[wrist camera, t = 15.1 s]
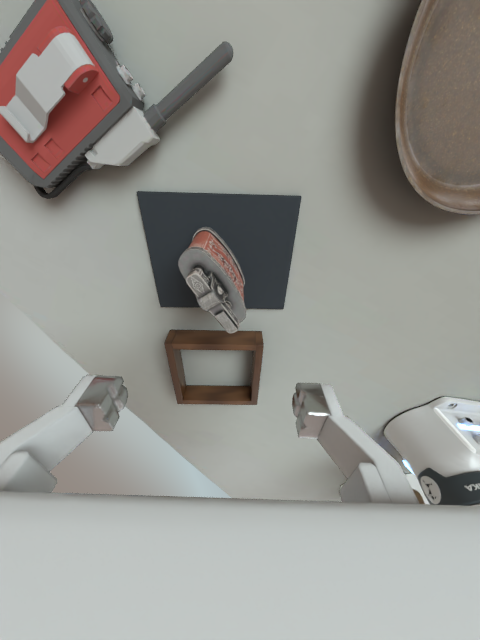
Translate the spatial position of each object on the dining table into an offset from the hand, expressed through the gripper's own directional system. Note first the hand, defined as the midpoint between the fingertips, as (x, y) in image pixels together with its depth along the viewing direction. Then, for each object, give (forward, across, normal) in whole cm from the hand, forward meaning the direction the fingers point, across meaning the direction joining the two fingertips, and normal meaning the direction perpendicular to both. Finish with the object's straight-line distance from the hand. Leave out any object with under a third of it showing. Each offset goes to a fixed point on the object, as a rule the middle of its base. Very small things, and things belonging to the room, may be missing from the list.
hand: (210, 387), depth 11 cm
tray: (+18, +2, +17) cm, 25 cm away
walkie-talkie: (+18, +10, -13) cm, 25 cm away
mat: (+18, +1, 0) cm, 18 cm away
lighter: (+18, +1, 0) cm, 18 cm away
